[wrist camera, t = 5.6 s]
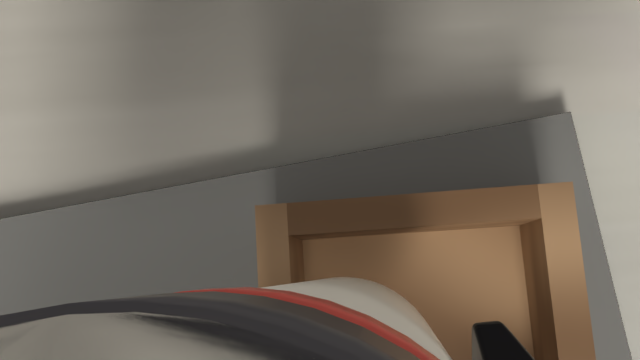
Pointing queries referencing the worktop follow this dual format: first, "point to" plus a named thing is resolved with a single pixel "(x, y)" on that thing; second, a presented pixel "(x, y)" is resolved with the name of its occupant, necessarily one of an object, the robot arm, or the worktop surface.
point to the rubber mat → (274, 188)
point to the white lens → (229, 326)
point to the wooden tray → (448, 259)
